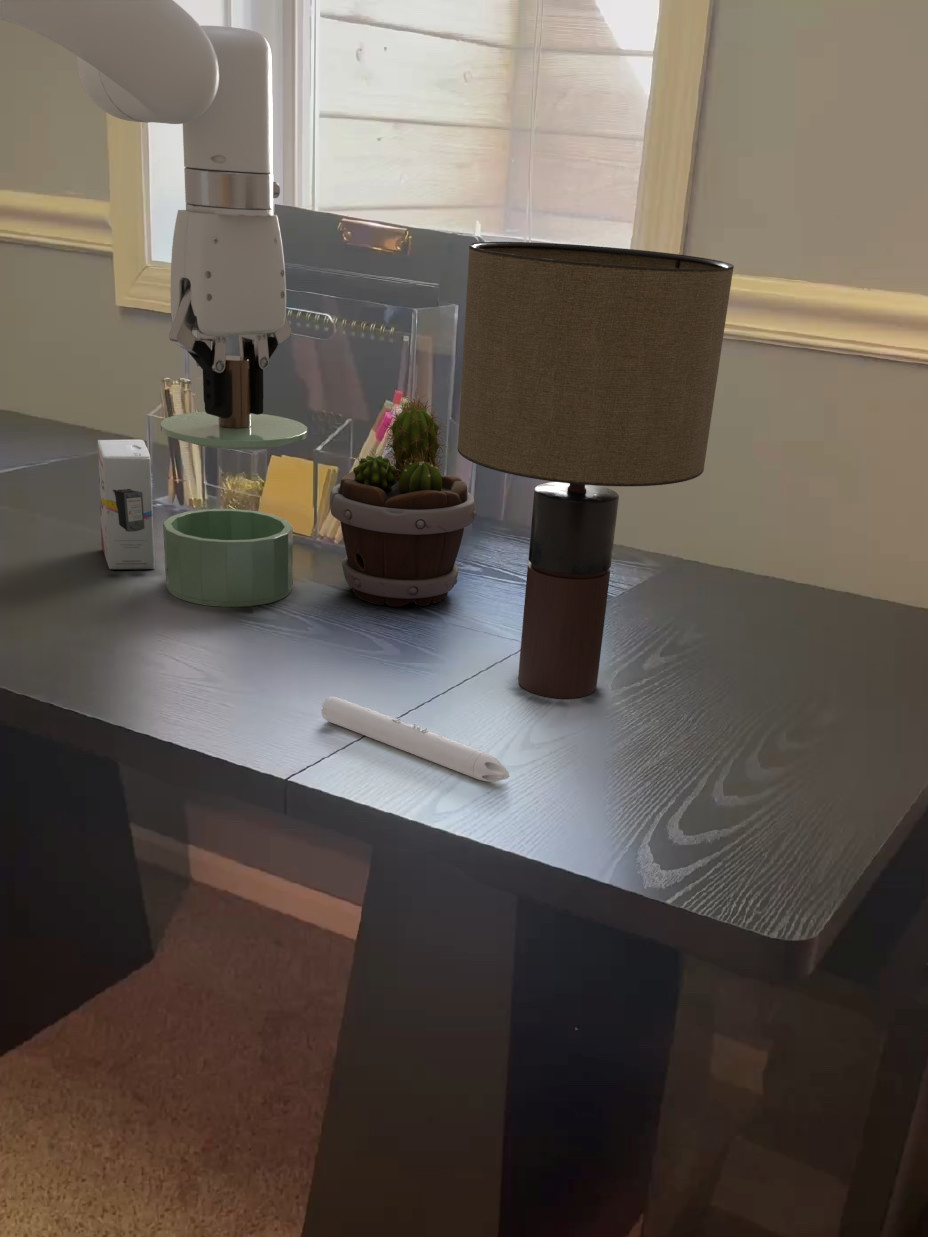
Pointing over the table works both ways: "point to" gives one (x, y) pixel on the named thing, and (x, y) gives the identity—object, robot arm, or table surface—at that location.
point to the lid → (235, 420)
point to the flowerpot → (403, 517)
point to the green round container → (228, 557)
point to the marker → (414, 740)
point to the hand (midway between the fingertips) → (234, 411)
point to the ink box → (126, 504)
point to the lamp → (585, 413)
